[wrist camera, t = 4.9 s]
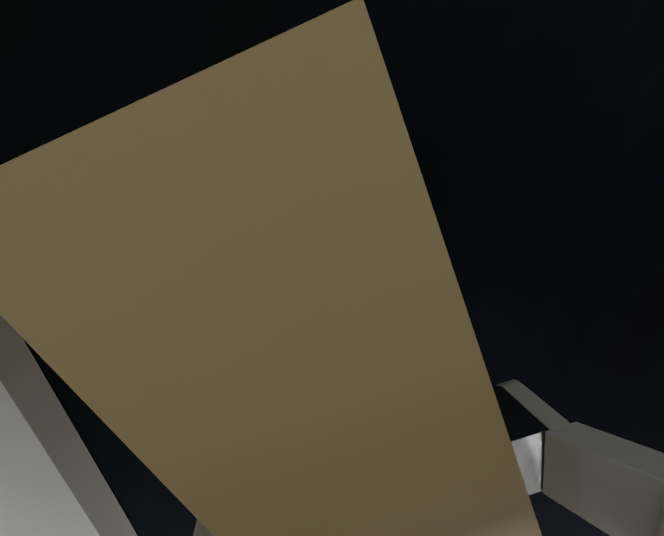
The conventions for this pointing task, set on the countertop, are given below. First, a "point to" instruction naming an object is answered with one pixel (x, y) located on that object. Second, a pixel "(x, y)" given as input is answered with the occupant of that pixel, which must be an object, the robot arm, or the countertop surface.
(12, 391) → the display stand
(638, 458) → the robot arm
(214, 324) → the tan wooden plank
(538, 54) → the countertop surface
